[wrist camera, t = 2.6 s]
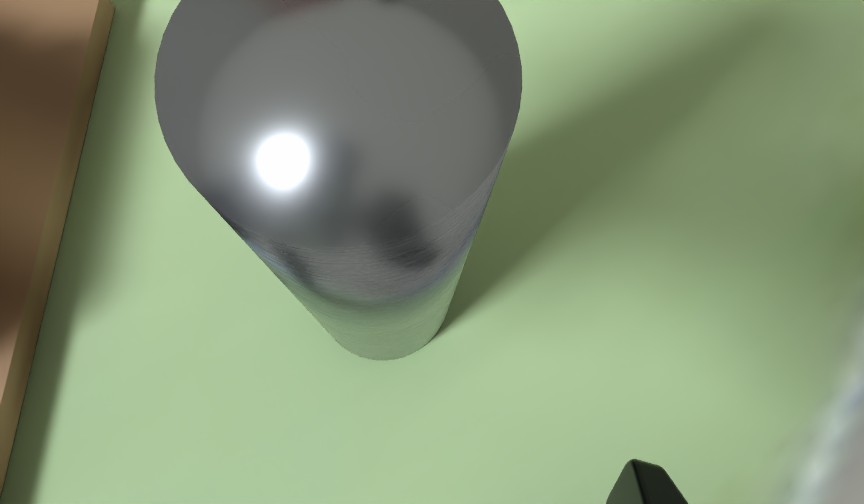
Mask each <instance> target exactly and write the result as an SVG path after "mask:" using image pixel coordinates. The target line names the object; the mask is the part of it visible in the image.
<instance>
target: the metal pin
mask: <svg viewBox="0 0 864 504" xmlns="http://www.w3.org/2000/svg"><path fill="white" fill-rule="evenodd" d="M521 92H522V66H521V60H520V55H519V49H518V44H517V41H516V38H515V35H514V32H513V29H512V25H511V23H510V21H509V19H508V17H507V15H506V13H505V11H504V9H503V7H502V5H501V4H500V2H499V1H498V0H181V1H180V3H179V5H178V6H177V8H176V9H175V11H174V13H173V14H172V16H171V19H170V21H169V23H168V25H167V28H166V30H165V32H164V34H163V38H162V41H161V45H160V48H159V52H158V56H157V63H156V70H155V102H156V108H157V114H158V120H159V123H160V126H161V130H162V133H163V136H164V139H165V142H166V144H167V146H168V148H169V150H170V152H171V154H172V156H173V158H174V160H175V162H176V163H177V165H178V166H179V168H180V169H181V171H182V172H183V173H184V175H185V176H186V178H187V179H188V181H189V182H190V183H191V184H192V185H193V186H194V187H195V188H196V189H197V191H198V192H199V193H200V194H201V195H202V196H203V197H204V198H205V199H206V200H207V201H208V202H209V204H210V205H211V206H212V207H213V208H214V209H215V210H216V211H217V212H218V213H219V214H220V215H221V217H222V218H223V219H224V220H225V221H226V222H227V223H228V224H229V225H230V226H231V227H232V228H233V230H234V231H235V232H236V233H237V234H238V235H239V236H240V237H241V238H242V239H243V240H244V241H245V243H246V244H247V245H248V246H249V247H250V248H251V249H252V250H253V251H254V252H255V253H256V254H257V256H258V257H259V258H260V259H261V260H262V261H263V262H264V263H265V264H266V265H267V266H268V267H269V269H270V270H271V271H272V272H273V273H274V274H275V275H276V276H277V277H278V278H279V279H280V281H281V282H282V283H283V284H284V285H285V286H286V287H287V288H288V289H289V290H290V291H291V292H292V294H293V295H294V296H295V297H296V298H297V299H298V300H299V301H300V302H301V303H302V304H303V305H304V307H305V308H306V309H307V310H308V311H309V312H310V313H311V314H312V315H313V316H314V317H315V318H316V320H317V321H318V322H319V323H320V324H321V325H322V326H323V327H324V328H325V329H326V330H327V331H328V333H329V334H330V335H331V336H332V337H333V338H334V339H335V340H336V341H337V342H338V343H339V344H340V345H341V346H343V347H344V348H345V349H347V350H348V351H350V352H352V353H354V354H356V355H358V356H361V357H364V358H368V359H373V360H392V359H398V358H402V357H405V356H407V355H410V354H412V353H414V352H416V351H417V350H419V349H421V348H422V347H423V346H425V345H426V344H427V343H428V342H429V341H430V340H431V339H432V338H433V337H434V336H435V334H436V333H437V332H438V330H439V329H440V327H441V325H442V323H443V321H444V319H445V316H446V314H447V311H448V308H449V305H450V303H451V300H452V297H453V295H454V292H455V289H456V286H457V284H458V281H459V278H460V275H461V273H462V270H463V267H464V264H465V262H466V259H467V256H468V254H469V251H470V248H471V245H472V243H473V240H474V237H475V234H476V232H477V229H478V226H479V224H480V221H481V218H482V215H483V213H484V210H485V207H486V204H487V202H488V199H489V196H490V193H491V191H492V188H493V185H494V183H495V180H496V177H497V174H498V172H499V169H500V166H501V163H502V161H503V158H504V155H505V153H506V150H507V147H508V144H509V142H510V139H511V136H512V133H513V131H514V127H515V124H516V120H517V116H518V112H519V109H520V100H521Z"/></svg>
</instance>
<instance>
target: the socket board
mask: <svg viewBox="0 0 864 504" xmlns="http://www.w3.org/2000/svg"><path fill="white" fill-rule="evenodd" d="M114 11H115V8H114V6H113V5H112V3H111V2H110V1H109V0H0V496H1V492H2V488H3V484H4V479H5V475H6V471H7V467H8V462H9V458H10V454H11V450H12V445H13V441H14V437H15V433H16V428H17V424H18V420H19V415H20V411H21V407H22V403H23V398H24V394H25V390H26V386H27V381H28V377H29V373H30V369H31V364H32V360H33V356H34V352H35V347H36V343H37V339H38V335H39V330H40V326H41V322H42V317H43V313H44V309H45V305H46V300H47V296H48V292H49V288H50V283H51V279H52V275H53V271H54V266H55V262H56V258H57V254H58V249H59V245H60V241H61V237H62V232H63V228H64V224H65V219H66V215H67V211H68V207H69V202H70V198H71V194H72V190H73V185H74V181H75V177H76V173H77V168H78V164H79V160H80V156H81V151H82V147H83V143H84V138H85V134H86V130H87V126H88V121H89V117H90V113H91V109H92V104H93V100H94V96H95V92H96V87H97V83H98V79H99V75H100V70H101V66H102V62H103V58H104V53H105V49H106V45H107V40H108V36H109V32H110V28H111V23H112V19H113V15H114Z"/></svg>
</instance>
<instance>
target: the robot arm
mask: <svg viewBox="0 0 864 504" xmlns="http://www.w3.org/2000/svg"><path fill="white" fill-rule="evenodd" d="M606 504H688V502H687V501H686V500H685V498H684V497H683V495H682V494H681V492H680V491H679V490H678V488H677V487H676V485H675V484H674V482H673V481H672V480H671V478H670V477H669V475H668V474H667V472H666V471H665V470H664V469H663V468H662V467H660V466H658V465H656V464H652V463H648V462H645V461H641V460H637V459H632V460H630V461H628V462H627V464H626V465H625V467H624V468H623V470H622V472H621V474H620V476H619V478H618V480H617V481H616V483H615V485H614V487H613V489H612V491H611V493H610V495H609V497H608V499H607V502H606Z"/></svg>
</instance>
